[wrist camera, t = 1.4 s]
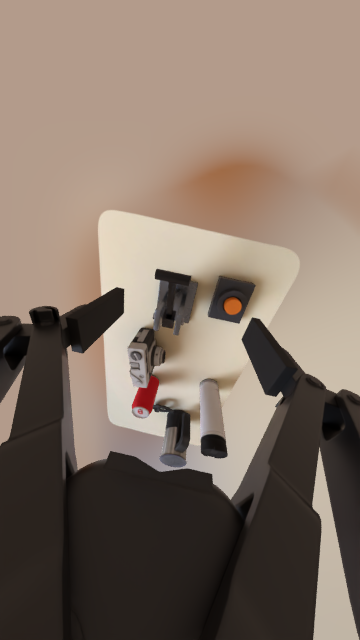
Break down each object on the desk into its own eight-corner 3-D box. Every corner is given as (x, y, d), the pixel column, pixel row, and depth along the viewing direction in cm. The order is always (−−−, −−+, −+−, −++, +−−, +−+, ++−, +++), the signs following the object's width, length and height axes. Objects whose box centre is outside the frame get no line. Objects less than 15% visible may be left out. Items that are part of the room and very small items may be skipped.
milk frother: (186, 424, 66) (183, 470, 53) (151, 417, 66) (139, 460, 53) (193, 404, 59) (192, 451, 46) (154, 396, 59) (141, 440, 46)
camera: (166, 365, 51) (159, 391, 42) (142, 362, 51) (131, 388, 42) (166, 330, 44) (159, 352, 35) (139, 327, 45) (125, 348, 36)
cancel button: (226, 295, 34) (227, 298, 32) (242, 298, 34) (244, 301, 32) (221, 309, 36) (222, 313, 34) (236, 313, 36) (238, 316, 34)
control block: (219, 275, 36) (221, 279, 32) (252, 282, 35) (258, 287, 32) (207, 313, 40) (208, 320, 37) (237, 319, 40) (241, 327, 37)
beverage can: (144, 385, 56) (131, 418, 46) (141, 373, 54) (128, 405, 43) (160, 386, 56) (151, 420, 45) (159, 374, 53) (149, 407, 42)
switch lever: (158, 264, 22) (153, 274, 20) (192, 272, 22) (189, 282, 20) (158, 315, 32) (154, 324, 30) (181, 320, 32) (179, 330, 30)
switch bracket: (161, 274, 37) (145, 289, 26) (197, 282, 37) (197, 301, 25) (156, 314, 42) (141, 341, 31) (188, 321, 42) (185, 350, 31)
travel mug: (220, 380, 51) (232, 453, 34) (215, 392, 54) (223, 465, 37) (202, 376, 51) (204, 447, 34) (198, 389, 54) (198, 460, 37)
